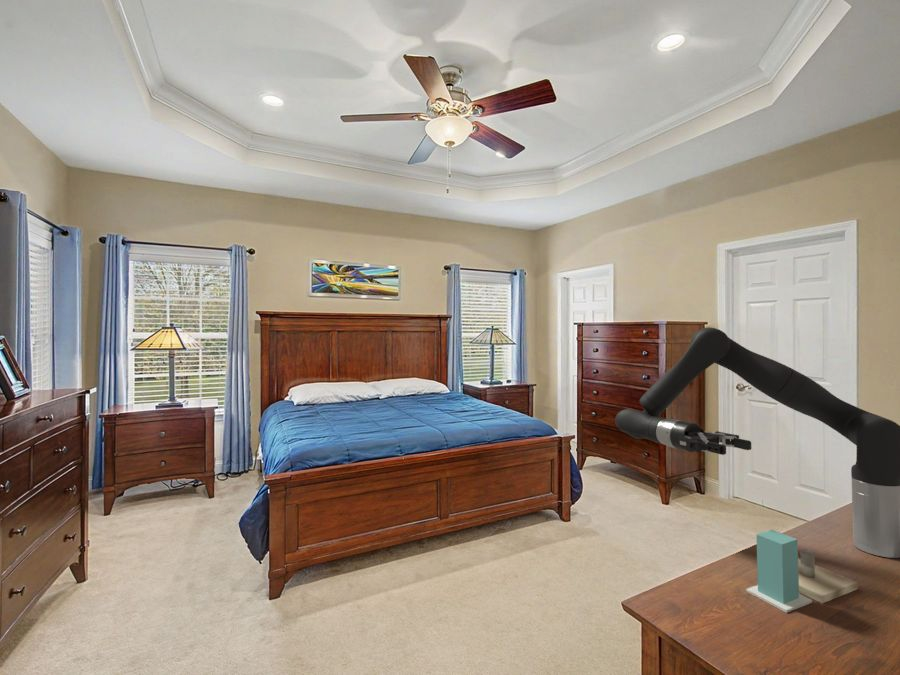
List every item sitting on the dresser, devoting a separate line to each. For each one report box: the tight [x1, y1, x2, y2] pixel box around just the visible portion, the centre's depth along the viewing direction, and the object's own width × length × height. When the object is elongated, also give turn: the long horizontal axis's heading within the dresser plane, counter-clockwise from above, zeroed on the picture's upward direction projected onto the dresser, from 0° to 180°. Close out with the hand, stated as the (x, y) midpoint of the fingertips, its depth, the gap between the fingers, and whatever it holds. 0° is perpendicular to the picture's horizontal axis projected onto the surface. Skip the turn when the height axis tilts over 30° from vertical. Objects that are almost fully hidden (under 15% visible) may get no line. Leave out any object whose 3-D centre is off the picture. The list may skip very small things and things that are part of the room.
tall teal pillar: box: [755, 529, 800, 604], centre depth 92 cm, size 5×5×12 cm
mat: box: [745, 584, 813, 614], centre depth 92 cm, size 8×8×1 cm
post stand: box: [798, 548, 859, 604], centre depth 98 cm, size 12×12×6 cm
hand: (738, 448), depth 104 cm, fingers open, 8 cm apart
